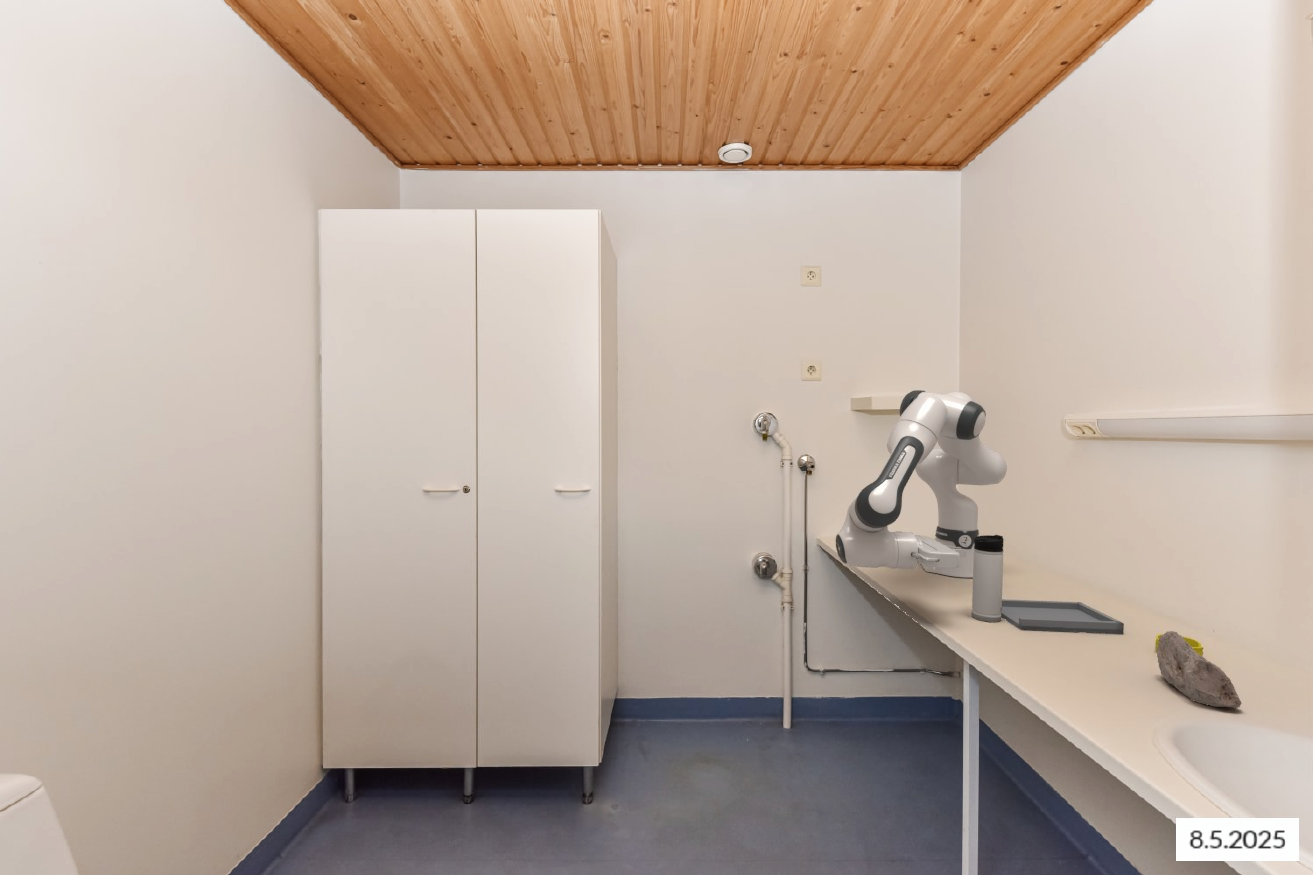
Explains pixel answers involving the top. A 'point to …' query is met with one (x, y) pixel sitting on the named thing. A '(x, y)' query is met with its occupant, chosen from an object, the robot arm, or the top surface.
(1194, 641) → the bracelet
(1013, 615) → the slate tray
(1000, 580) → the travel mug
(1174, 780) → the top surface
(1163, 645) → the pumice stone
